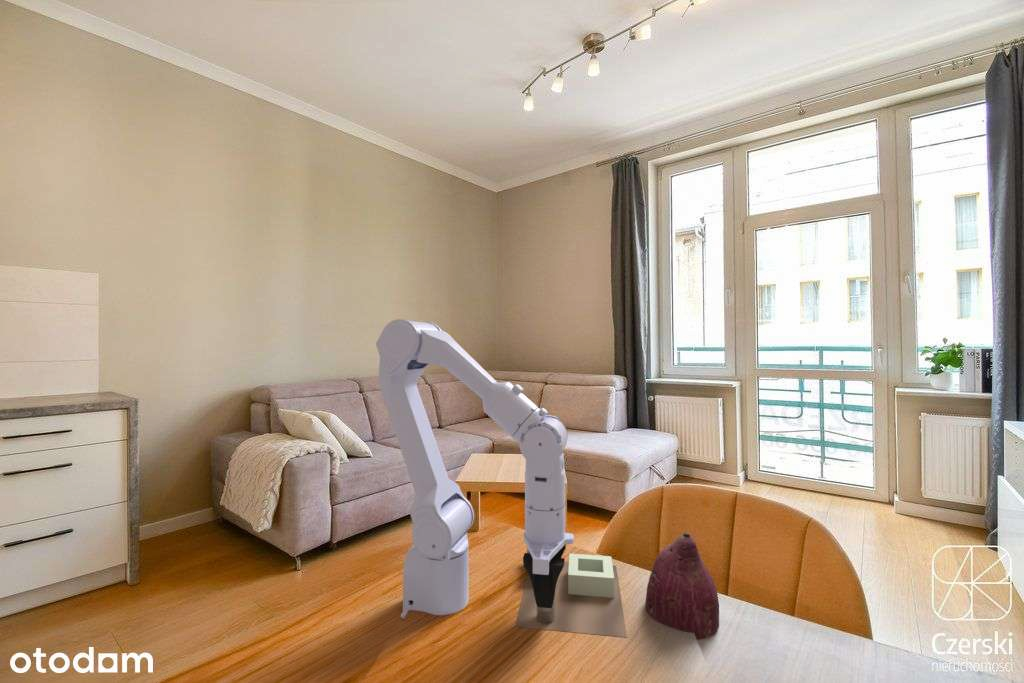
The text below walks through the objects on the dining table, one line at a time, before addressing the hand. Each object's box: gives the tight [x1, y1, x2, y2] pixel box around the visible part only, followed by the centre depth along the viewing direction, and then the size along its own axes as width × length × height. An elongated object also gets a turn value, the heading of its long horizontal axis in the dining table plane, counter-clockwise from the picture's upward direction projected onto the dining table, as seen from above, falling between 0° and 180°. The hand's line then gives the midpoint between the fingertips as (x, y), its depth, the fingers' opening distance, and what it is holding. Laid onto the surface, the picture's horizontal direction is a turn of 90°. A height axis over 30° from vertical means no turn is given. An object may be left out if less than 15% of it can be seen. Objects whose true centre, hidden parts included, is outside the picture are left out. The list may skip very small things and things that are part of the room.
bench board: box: [514, 547, 628, 639], centre depth 69 cm, size 16×19×4 cm
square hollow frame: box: [568, 553, 614, 598], centre depth 71 cm, size 7×7×3 cm
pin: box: [536, 596, 555, 624], centre depth 62 cm, size 3×3×7 cm
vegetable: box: [645, 531, 720, 641], centre depth 63 cm, size 10×10×15 cm
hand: (545, 599), depth 62 cm, fingers closed on pin, 3 cm apart
